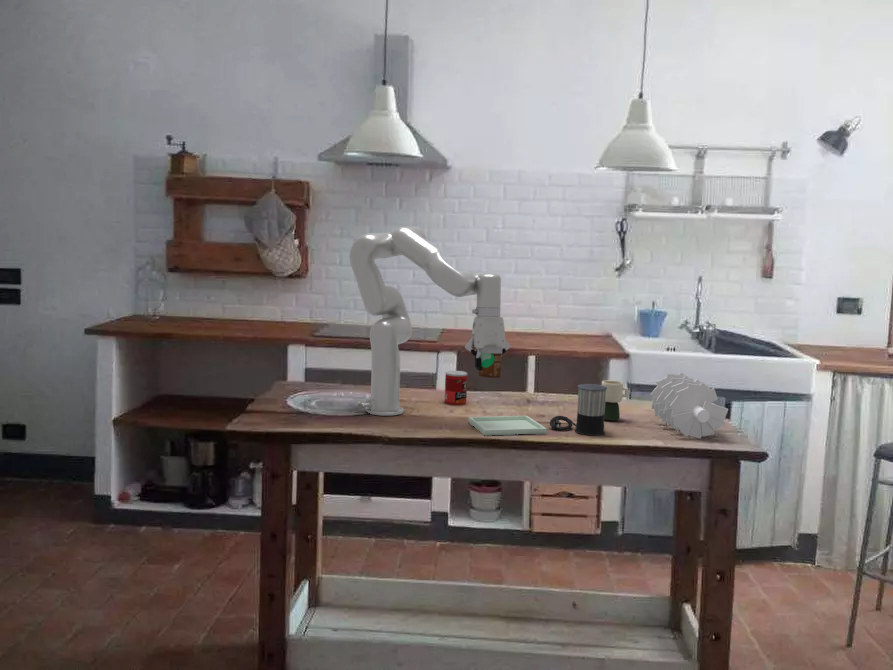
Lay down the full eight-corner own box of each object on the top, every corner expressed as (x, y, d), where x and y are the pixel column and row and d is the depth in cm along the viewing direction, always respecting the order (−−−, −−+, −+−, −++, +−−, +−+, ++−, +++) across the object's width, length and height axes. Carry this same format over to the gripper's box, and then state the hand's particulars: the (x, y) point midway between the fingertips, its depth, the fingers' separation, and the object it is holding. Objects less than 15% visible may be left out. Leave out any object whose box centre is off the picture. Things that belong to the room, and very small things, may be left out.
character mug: (623, 418, 320) (625, 380, 318) (628, 422, 313) (631, 384, 311) (591, 417, 319) (594, 379, 317) (596, 422, 312) (598, 383, 310)
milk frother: (609, 435, 294) (612, 389, 292) (562, 437, 290) (565, 390, 288) (590, 425, 308) (593, 380, 306) (545, 426, 303) (547, 381, 301)
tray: (485, 436, 288) (485, 430, 287) (468, 422, 305) (468, 417, 305) (546, 434, 293) (546, 428, 293) (526, 420, 310) (526, 415, 310)
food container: (469, 372, 304) (469, 342, 303) (486, 372, 306) (487, 341, 305) (483, 379, 293) (484, 347, 291) (501, 378, 295) (502, 346, 293)
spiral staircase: (686, 453, 292) (657, 430, 316) (737, 429, 292) (704, 408, 317) (666, 401, 287) (638, 382, 312) (718, 377, 288) (686, 360, 313)
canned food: (458, 406, 329) (459, 375, 328) (439, 402, 334) (441, 372, 332) (470, 403, 335) (472, 372, 334) (452, 399, 340) (454, 369, 338)
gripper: (465, 314, 291) (465, 372, 293) (518, 313, 296) (516, 370, 298) (459, 312, 298) (458, 368, 301) (510, 311, 303) (509, 366, 305)
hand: (487, 368), depth 299 cm, fingers closed on food container, 5 cm apart
